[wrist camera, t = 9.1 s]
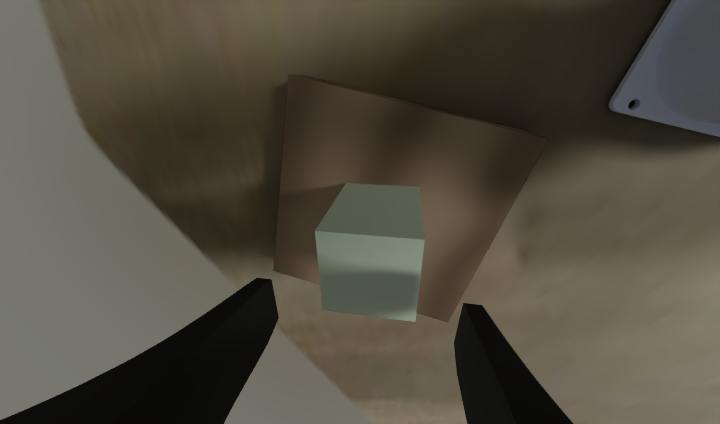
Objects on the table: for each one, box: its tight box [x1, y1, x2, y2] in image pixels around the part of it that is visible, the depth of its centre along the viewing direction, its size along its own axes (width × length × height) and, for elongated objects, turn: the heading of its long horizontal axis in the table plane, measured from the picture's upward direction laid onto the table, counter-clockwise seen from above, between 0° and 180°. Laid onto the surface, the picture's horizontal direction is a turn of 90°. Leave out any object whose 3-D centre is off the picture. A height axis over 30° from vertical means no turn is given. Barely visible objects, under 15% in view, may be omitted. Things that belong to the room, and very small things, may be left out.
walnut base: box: [273, 74, 549, 322], centre depth 18 cm, size 14×14×2 cm
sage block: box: [315, 183, 425, 322], centre depth 14 cm, size 4×4×6 cm
